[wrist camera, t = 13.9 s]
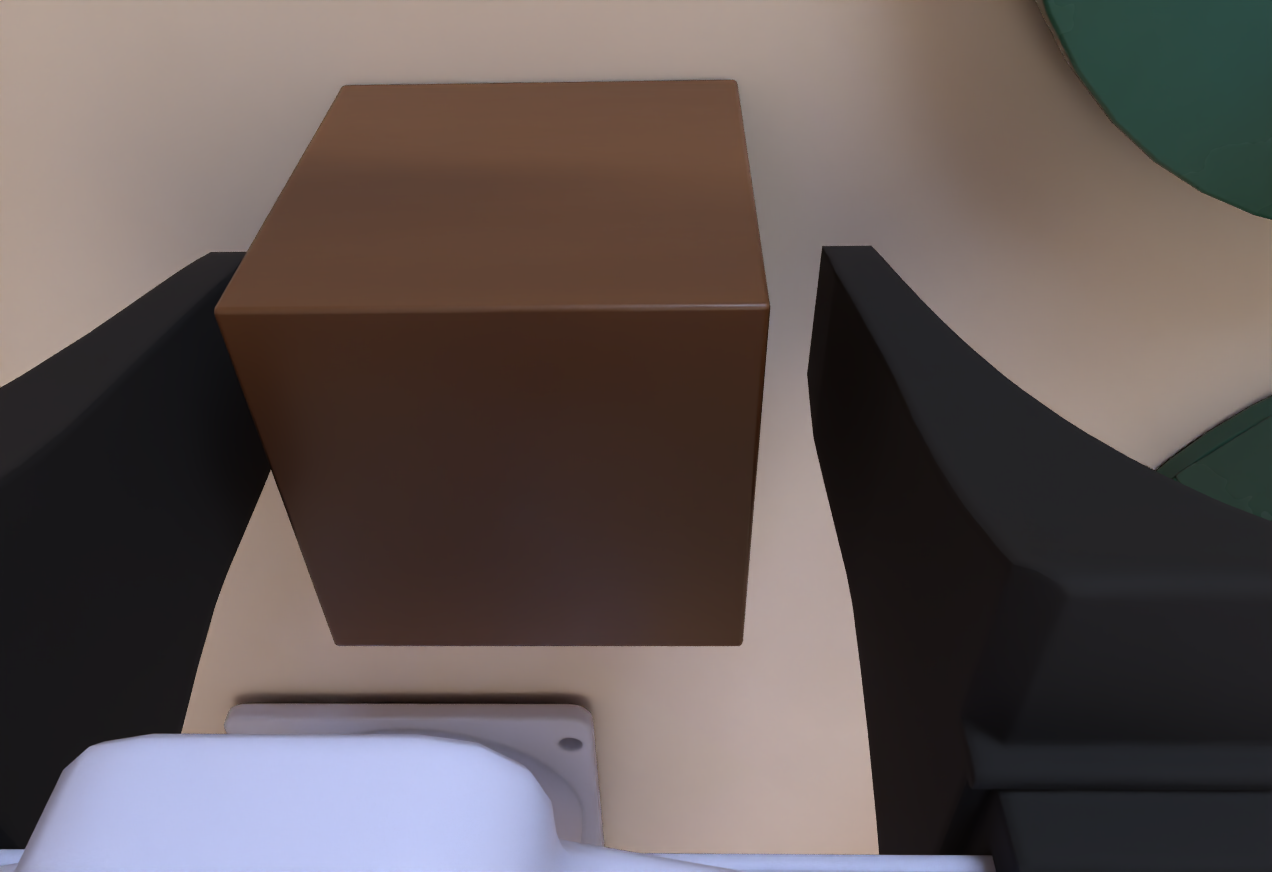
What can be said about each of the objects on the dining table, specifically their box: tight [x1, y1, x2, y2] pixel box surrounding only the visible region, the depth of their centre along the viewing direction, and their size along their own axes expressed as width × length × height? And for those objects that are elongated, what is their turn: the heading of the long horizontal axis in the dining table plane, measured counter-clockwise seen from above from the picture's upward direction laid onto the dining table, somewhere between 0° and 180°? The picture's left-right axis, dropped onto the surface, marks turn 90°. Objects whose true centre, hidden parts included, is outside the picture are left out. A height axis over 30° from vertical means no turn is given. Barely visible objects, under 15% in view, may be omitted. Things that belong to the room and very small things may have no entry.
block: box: [214, 80, 770, 646], centre depth 12 cm, size 5×5×5 cm
